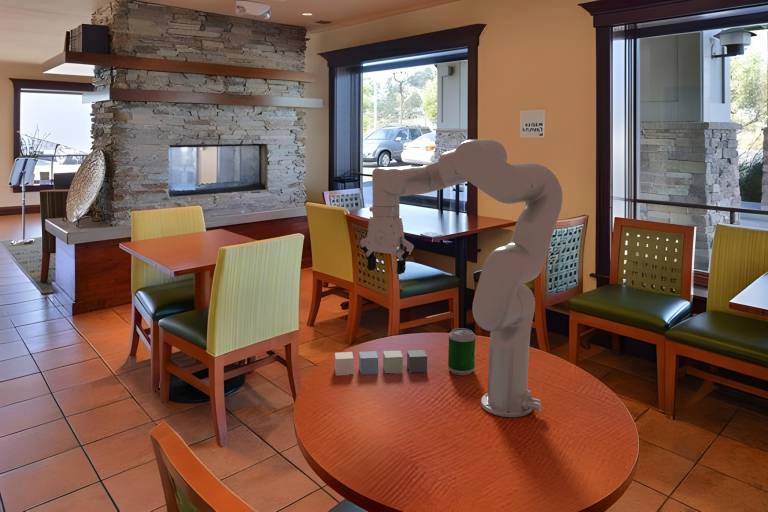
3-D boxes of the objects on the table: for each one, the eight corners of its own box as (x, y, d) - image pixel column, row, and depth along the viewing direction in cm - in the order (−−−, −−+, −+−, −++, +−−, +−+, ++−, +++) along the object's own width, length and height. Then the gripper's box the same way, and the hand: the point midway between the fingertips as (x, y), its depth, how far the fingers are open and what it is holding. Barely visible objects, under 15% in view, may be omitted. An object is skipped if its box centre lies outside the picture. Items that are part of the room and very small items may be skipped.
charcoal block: (423, 365, 167) (423, 349, 166) (427, 372, 162) (427, 356, 161) (406, 366, 166) (407, 350, 165) (409, 373, 161) (409, 357, 160)
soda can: (473, 377, 158) (475, 336, 156) (446, 375, 160) (447, 335, 157) (474, 367, 165) (476, 328, 163) (449, 365, 167) (450, 326, 164)
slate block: (376, 367, 166) (376, 351, 165) (378, 374, 161) (378, 357, 160) (359, 368, 165) (359, 351, 164) (360, 375, 160) (360, 358, 159)
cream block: (352, 367, 165) (352, 351, 164) (353, 374, 160) (353, 358, 159) (335, 368, 165) (334, 352, 164) (335, 375, 160) (335, 359, 159)
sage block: (400, 366, 166) (400, 350, 165) (402, 373, 161) (402, 356, 160) (383, 367, 166) (383, 351, 165) (385, 374, 161) (385, 357, 160)
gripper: (353, 211, 160) (354, 270, 163) (406, 215, 151) (406, 277, 154) (367, 208, 166) (368, 265, 169) (419, 212, 157) (419, 272, 160)
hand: (386, 271), depth 162 cm, fingers open, 9 cm apart
